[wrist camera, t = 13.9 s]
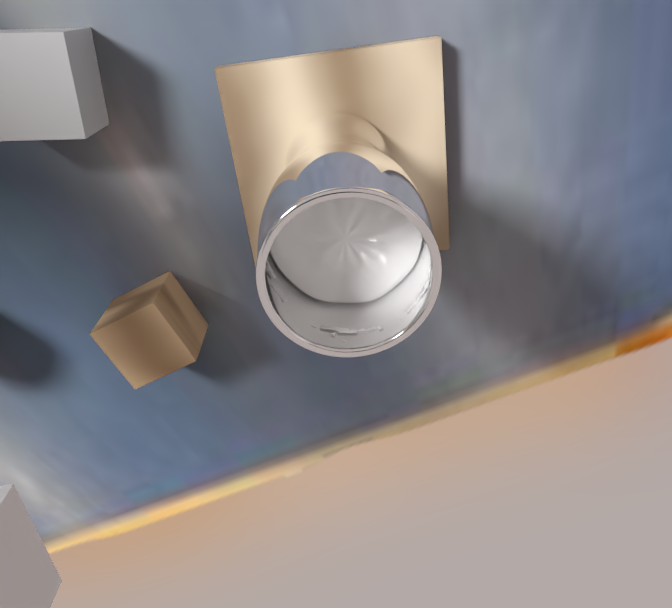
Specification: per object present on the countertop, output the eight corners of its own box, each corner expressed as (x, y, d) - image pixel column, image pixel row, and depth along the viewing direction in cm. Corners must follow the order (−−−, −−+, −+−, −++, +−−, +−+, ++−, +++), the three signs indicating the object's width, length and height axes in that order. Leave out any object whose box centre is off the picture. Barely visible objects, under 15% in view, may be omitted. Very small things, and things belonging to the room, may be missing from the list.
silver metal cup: (328, 246, 37) (333, 393, 23) (251, 157, 34) (206, 265, 21) (422, 176, 35) (486, 292, 21) (348, 76, 32) (368, 137, 19)
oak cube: (153, 350, 41) (135, 389, 37) (113, 299, 39) (89, 334, 35) (208, 324, 40) (196, 360, 36) (170, 270, 39) (153, 302, 35)
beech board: (258, 265, 38) (256, 273, 37) (217, 66, 33) (214, 68, 32) (446, 242, 38) (449, 249, 37) (437, 35, 32) (441, 37, 31)
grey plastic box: (21, 125, 34) (-13, 141, 31) (-3, 29, 32) (-44, 34, 28) (110, 123, 34) (85, 138, 31) (91, 27, 32) (63, 31, 28)
